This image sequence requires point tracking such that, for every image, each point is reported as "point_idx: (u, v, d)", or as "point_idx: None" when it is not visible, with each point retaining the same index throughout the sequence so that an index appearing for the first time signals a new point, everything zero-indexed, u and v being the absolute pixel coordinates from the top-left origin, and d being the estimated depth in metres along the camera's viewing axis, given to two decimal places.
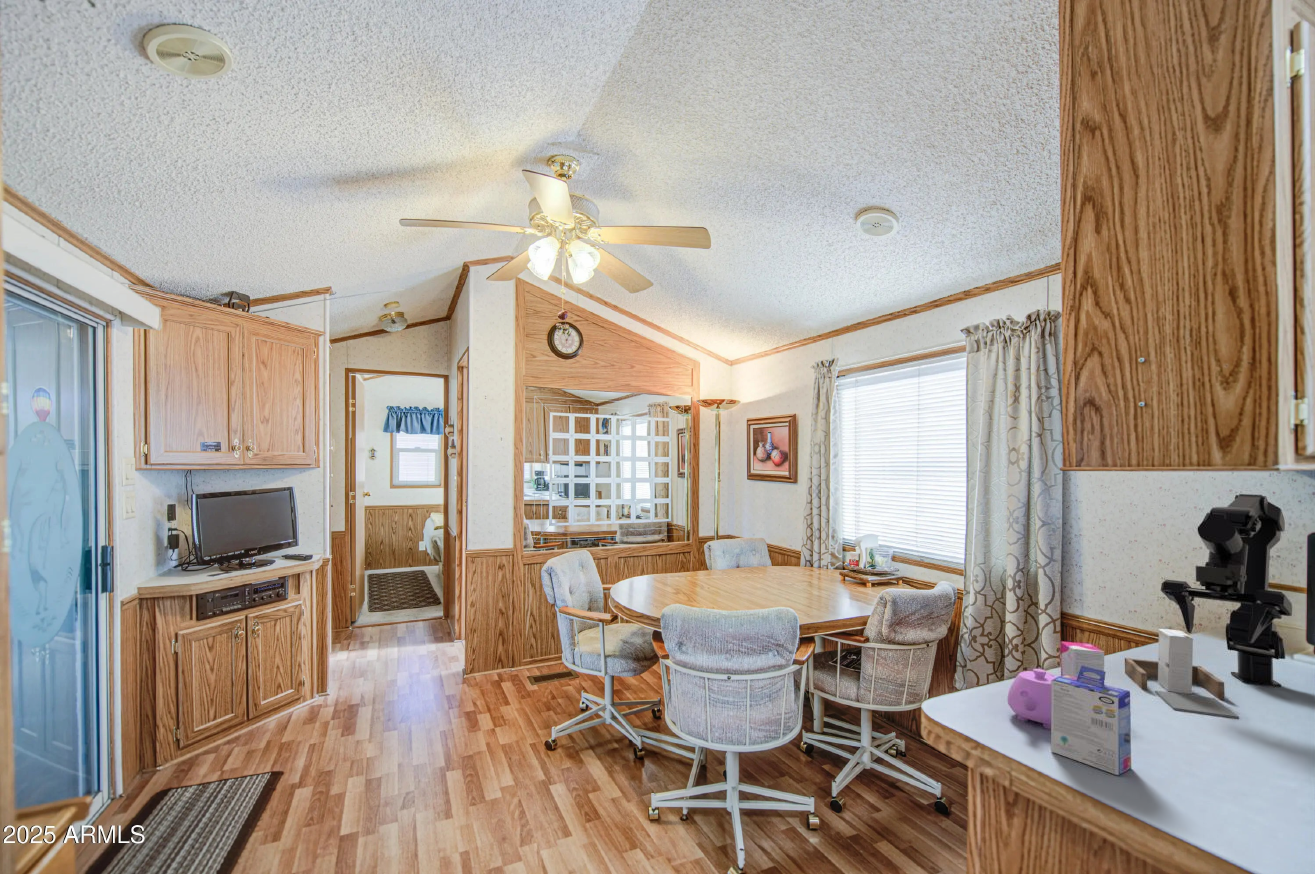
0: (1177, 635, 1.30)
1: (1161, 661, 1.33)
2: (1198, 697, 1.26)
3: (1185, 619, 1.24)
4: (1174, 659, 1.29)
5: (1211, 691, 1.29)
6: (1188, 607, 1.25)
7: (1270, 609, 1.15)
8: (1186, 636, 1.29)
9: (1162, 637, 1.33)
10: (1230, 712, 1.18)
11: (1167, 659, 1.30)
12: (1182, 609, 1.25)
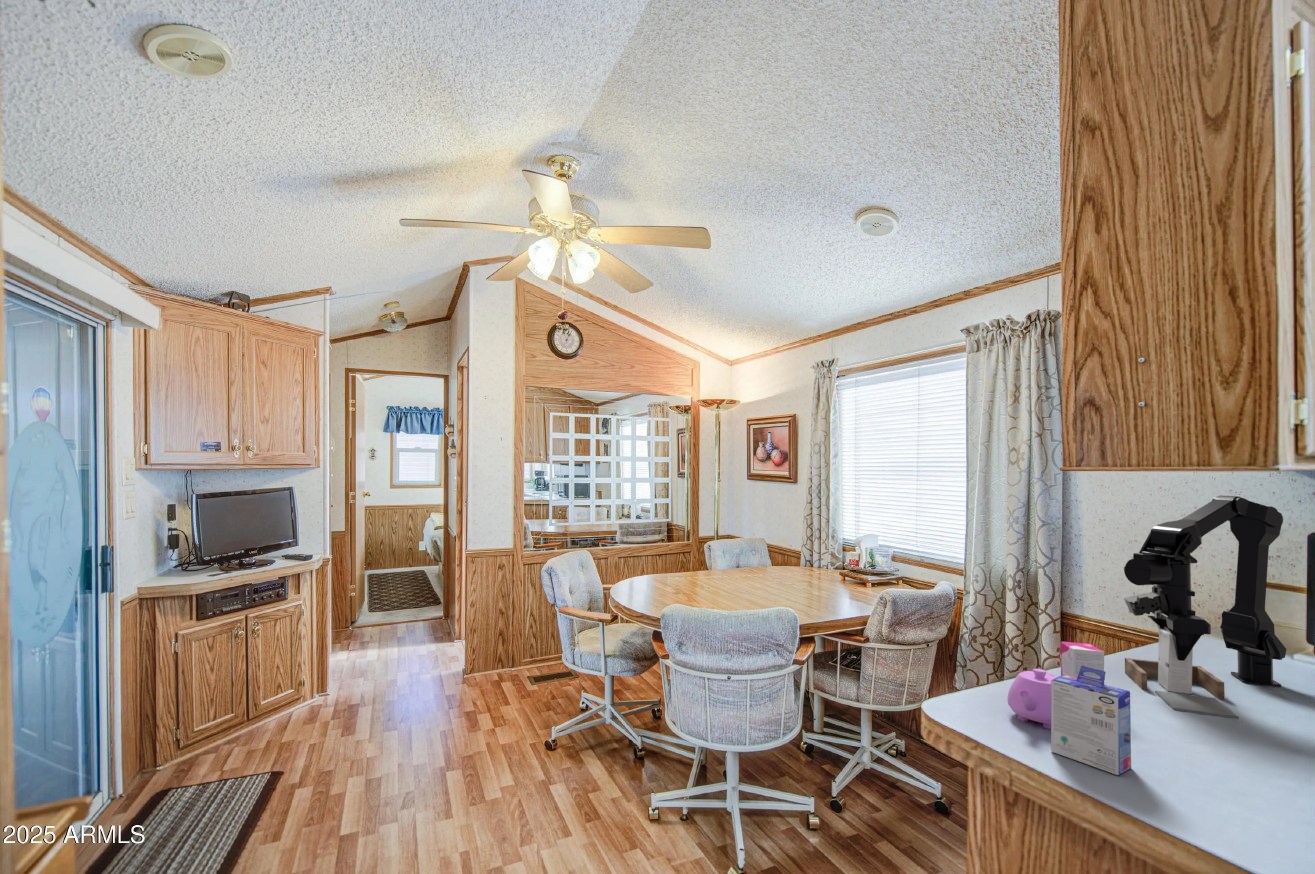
0: None
1: (1161, 661, 1.33)
2: (1198, 697, 1.26)
3: None
4: (1174, 659, 1.29)
5: (1211, 691, 1.29)
6: (1163, 628, 1.36)
7: None
8: None
9: (1162, 637, 1.33)
10: (1230, 712, 1.18)
11: (1167, 659, 1.30)
12: None
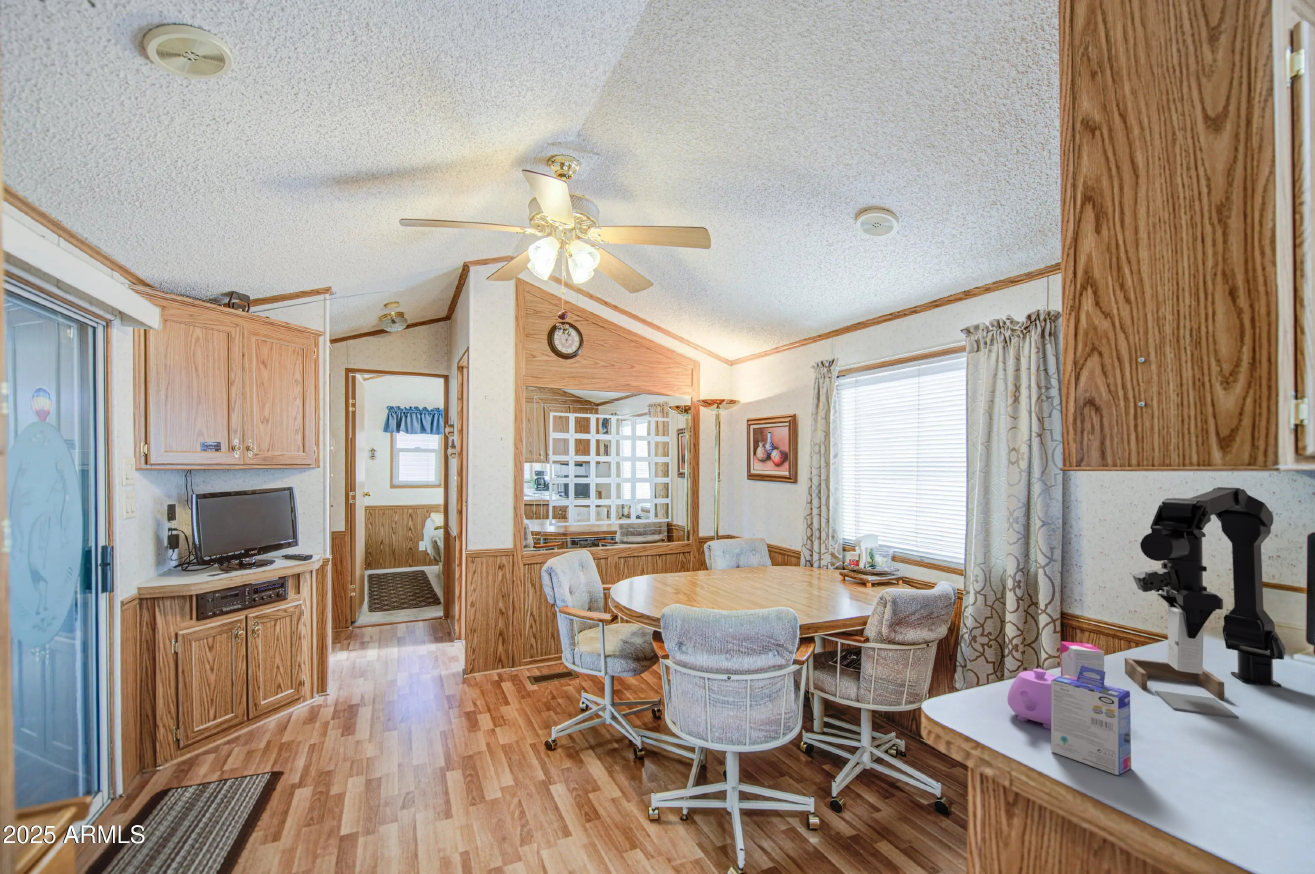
0: None
1: (1170, 640, 1.28)
2: (1198, 697, 1.26)
3: None
4: (1184, 637, 1.24)
5: (1211, 691, 1.29)
6: (1173, 606, 1.30)
7: None
8: None
9: (1172, 615, 1.28)
10: (1230, 712, 1.18)
11: (1177, 637, 1.25)
12: None
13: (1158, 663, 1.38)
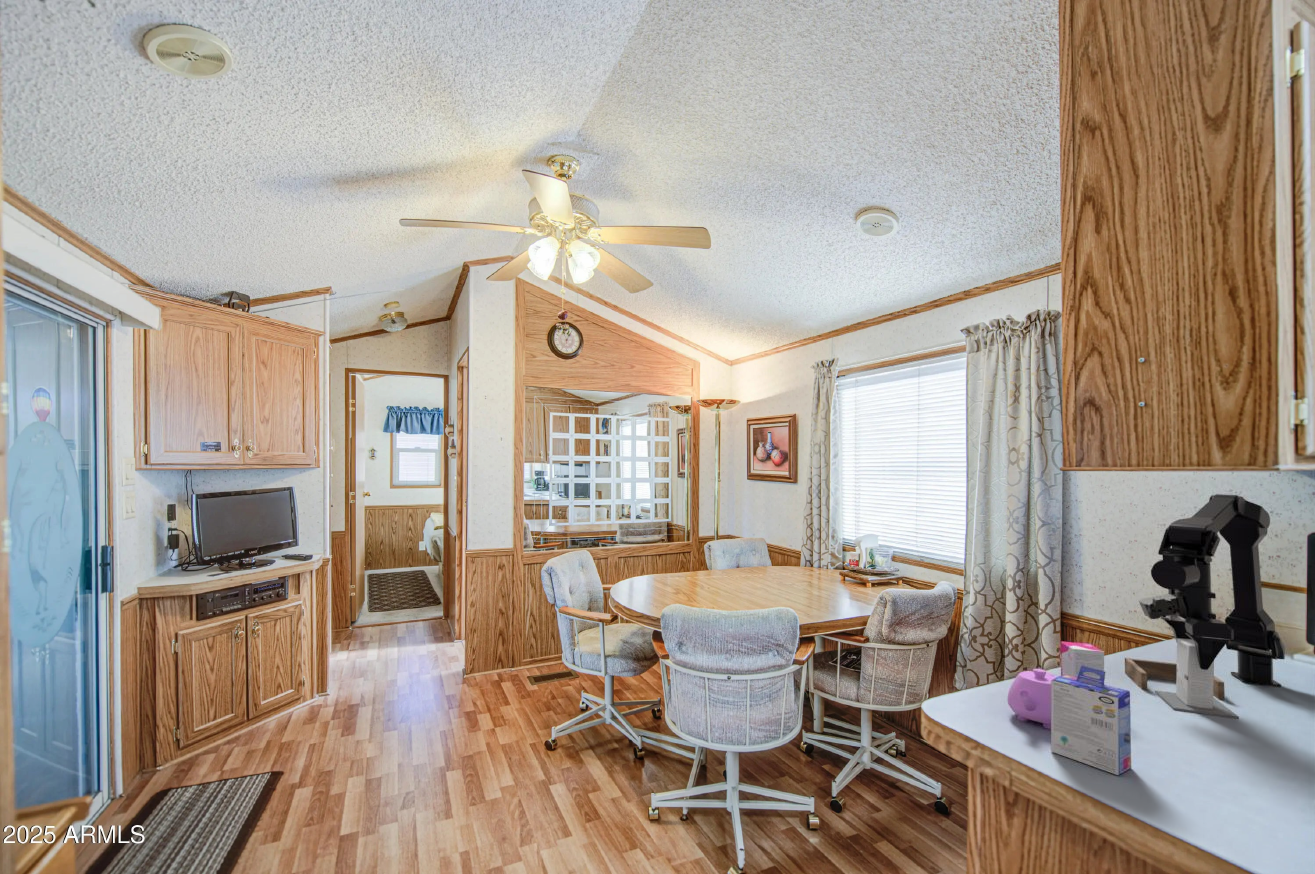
0: None
1: (1179, 673, 1.25)
2: None
3: None
4: (1194, 671, 1.21)
5: None
6: (1177, 630, 1.28)
7: None
8: None
9: (1181, 647, 1.24)
10: (1230, 712, 1.18)
11: (1186, 671, 1.22)
12: (1174, 633, 1.29)
13: (1158, 663, 1.38)
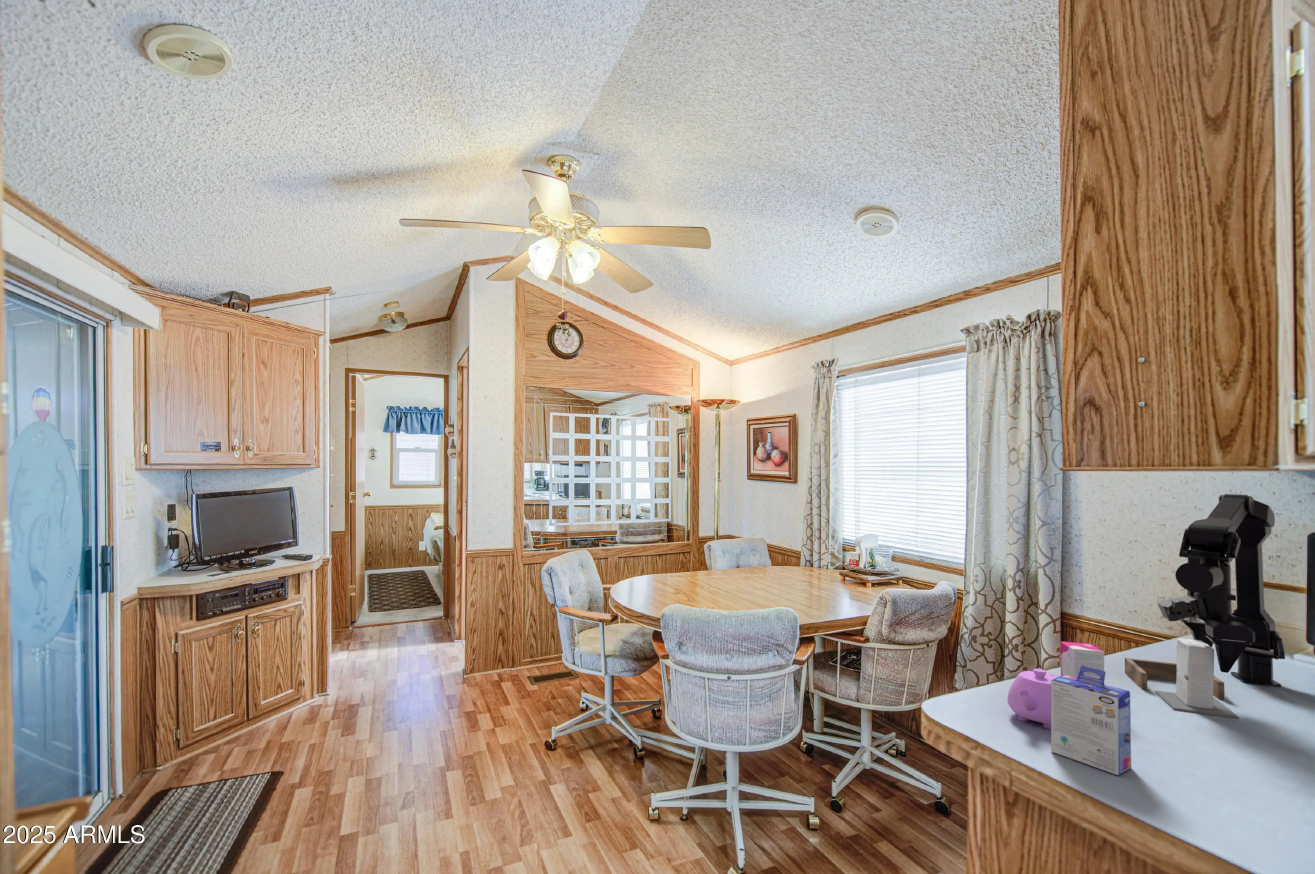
0: (1197, 645, 1.21)
1: (1179, 673, 1.25)
2: None
3: None
4: (1194, 671, 1.21)
5: None
6: (1196, 633, 1.27)
7: None
8: (1207, 647, 1.21)
9: (1181, 647, 1.24)
10: (1230, 712, 1.18)
11: (1186, 671, 1.22)
12: (1193, 635, 1.28)
13: (1158, 663, 1.38)
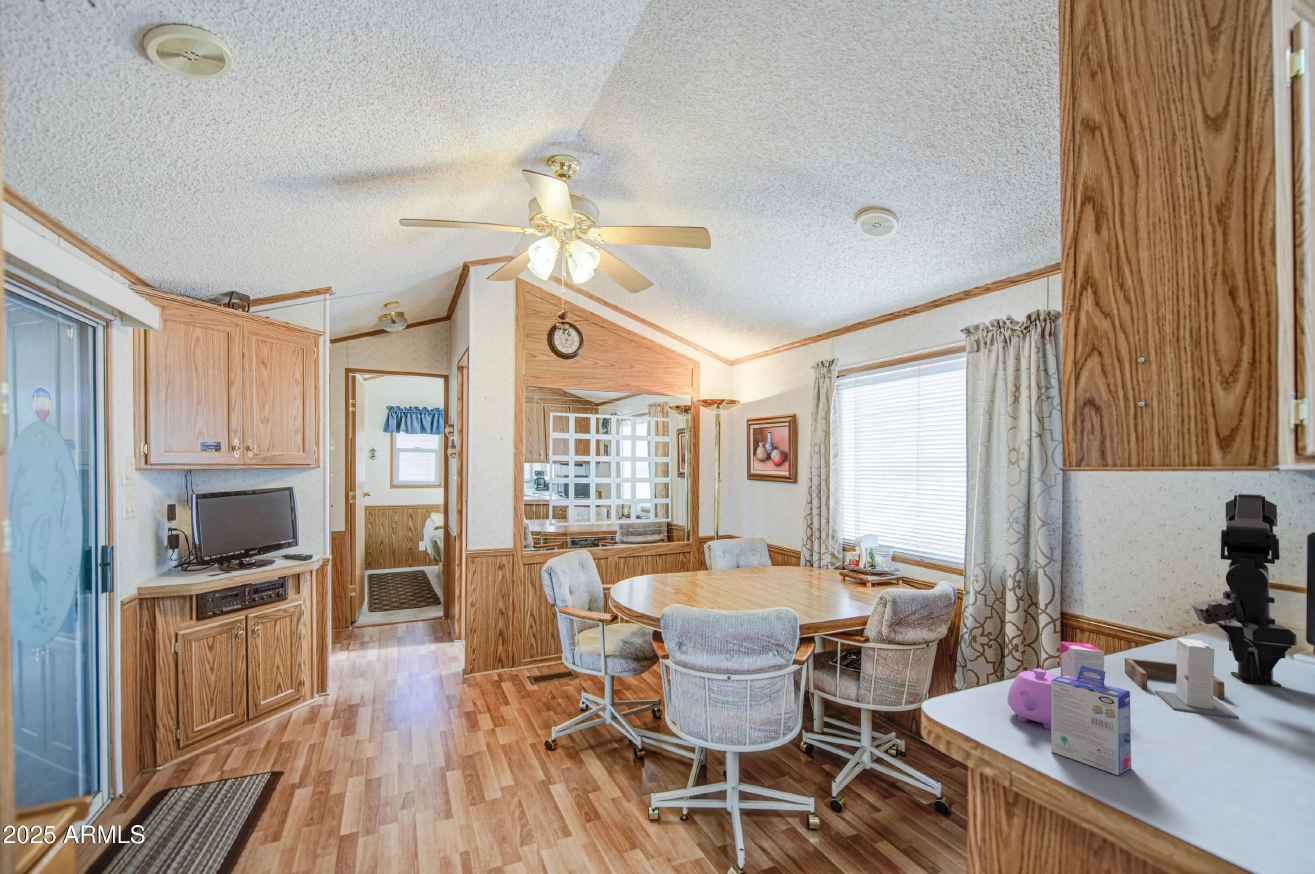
0: (1197, 645, 1.21)
1: (1179, 673, 1.25)
2: None
3: (1231, 648, 1.25)
4: (1194, 671, 1.21)
5: None
6: (1231, 636, 1.25)
7: (1258, 644, 1.14)
8: (1207, 647, 1.21)
9: (1181, 647, 1.24)
10: (1230, 712, 1.18)
11: (1186, 671, 1.22)
12: (1227, 638, 1.26)
13: (1158, 663, 1.38)
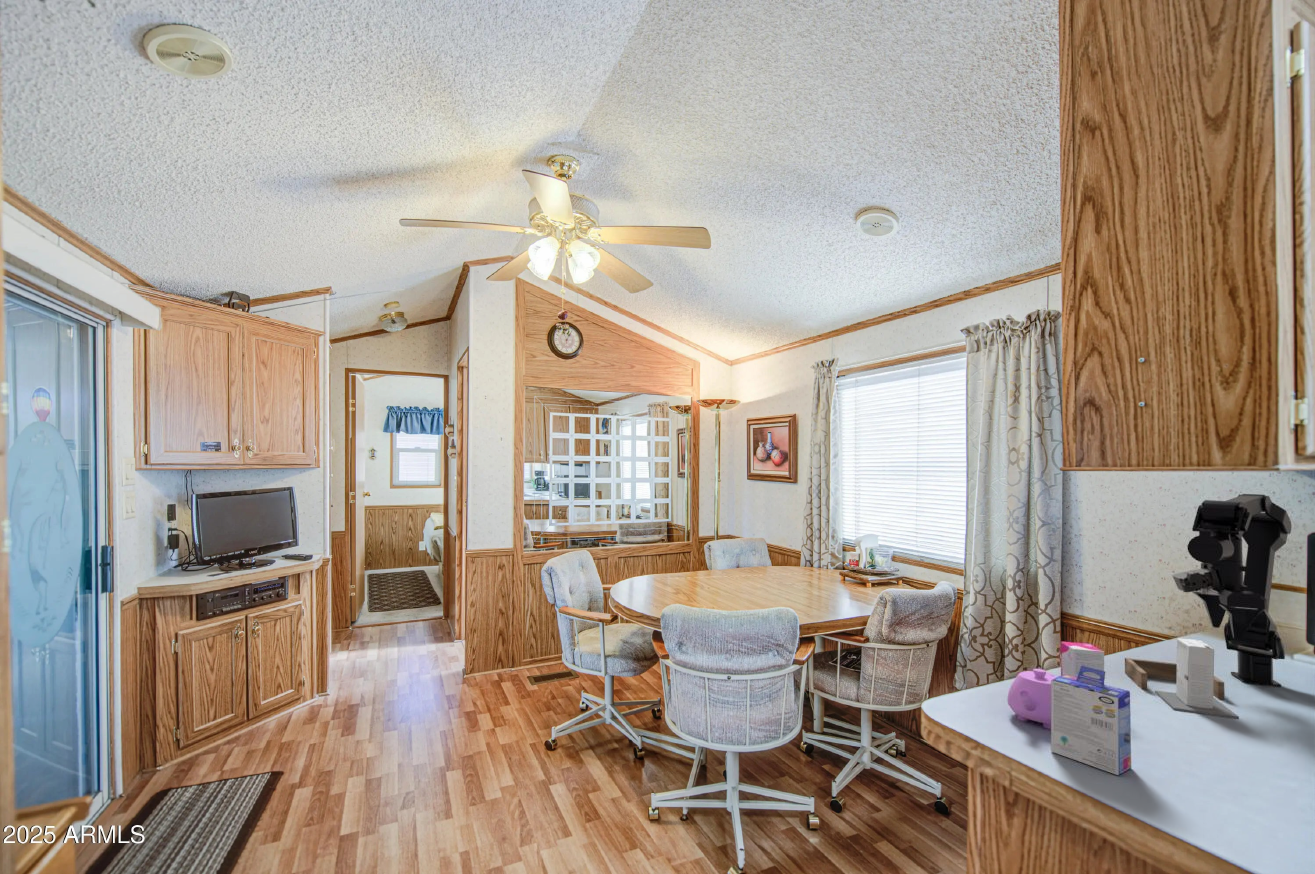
0: (1197, 645, 1.21)
1: (1179, 673, 1.25)
2: None
3: (1209, 615, 1.34)
4: (1194, 671, 1.21)
5: None
6: (1209, 604, 1.34)
7: None
8: (1207, 647, 1.21)
9: (1181, 647, 1.24)
10: (1230, 712, 1.18)
11: (1186, 671, 1.22)
12: (1205, 606, 1.35)
13: (1158, 663, 1.38)
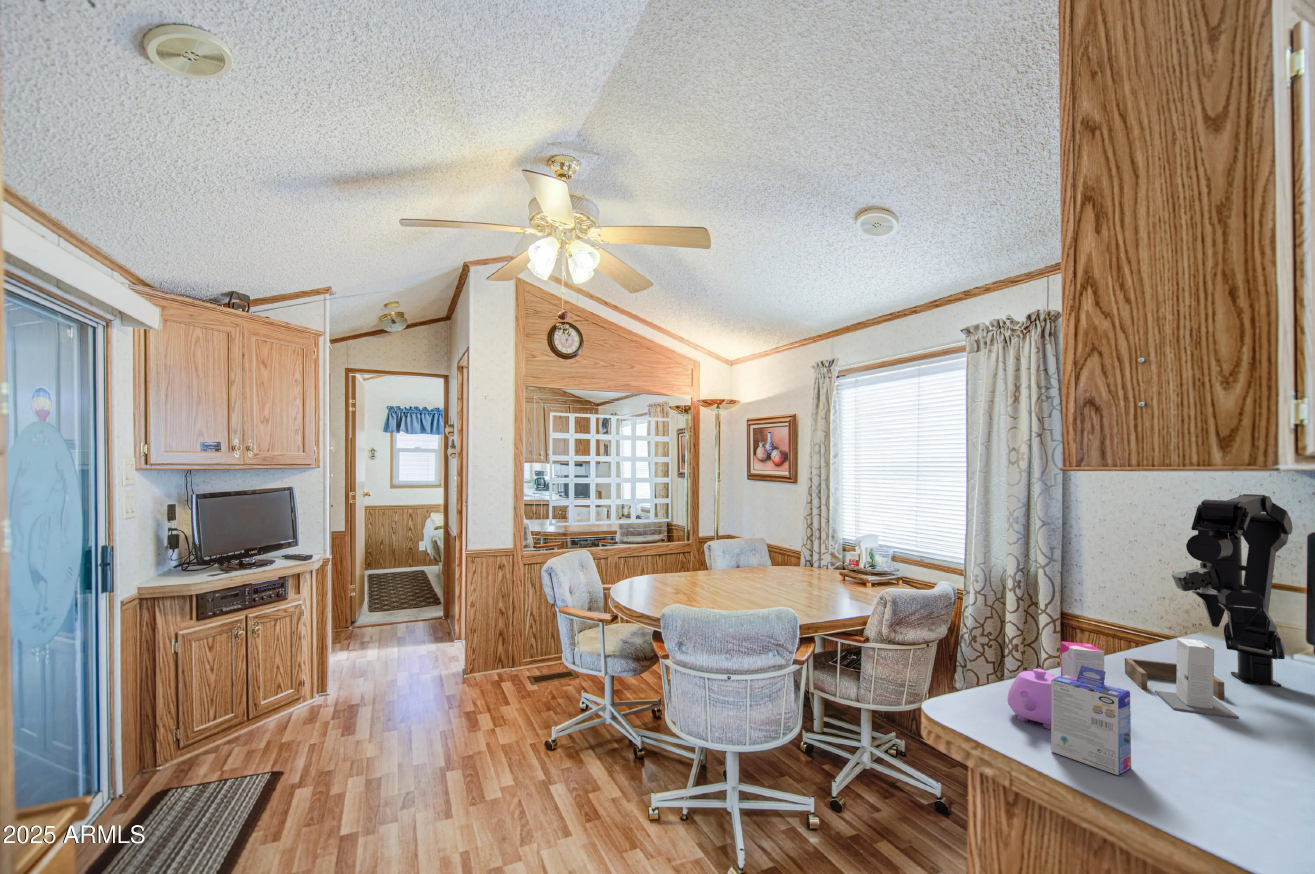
0: (1197, 645, 1.21)
1: (1179, 673, 1.25)
2: None
3: (1208, 615, 1.35)
4: (1194, 671, 1.21)
5: None
6: (1208, 603, 1.35)
7: None
8: (1207, 646, 1.21)
9: (1181, 647, 1.24)
10: (1230, 712, 1.18)
11: (1186, 671, 1.22)
12: (1205, 605, 1.35)
13: (1158, 663, 1.38)
